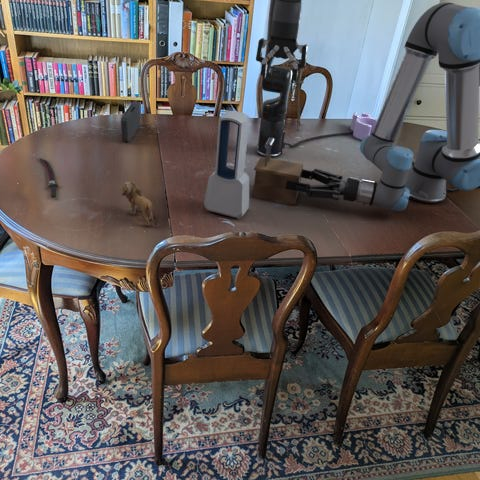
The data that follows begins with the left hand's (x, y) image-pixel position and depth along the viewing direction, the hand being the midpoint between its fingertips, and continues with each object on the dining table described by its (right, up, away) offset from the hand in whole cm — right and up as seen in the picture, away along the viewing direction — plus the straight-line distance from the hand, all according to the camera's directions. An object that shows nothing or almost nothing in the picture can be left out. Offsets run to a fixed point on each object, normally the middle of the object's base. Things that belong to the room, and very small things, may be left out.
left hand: (278, 79), depth 137 cm
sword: (-74, -27, +14) cm, 80 cm away
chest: (+1, -32, +19) cm, 37 cm away
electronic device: (-16, -38, +7) cm, 42 cm away
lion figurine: (-41, -40, -1) cm, 57 cm away
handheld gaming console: (-56, -3, +54) cm, 78 cm away
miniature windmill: (+12, +5, +79) cm, 80 cm away
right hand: (+5, -27, +15) cm, 31 cm away
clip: (+46, +2, +79) cm, 92 cm away
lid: (+1, -24, +14) cm, 28 cm away
